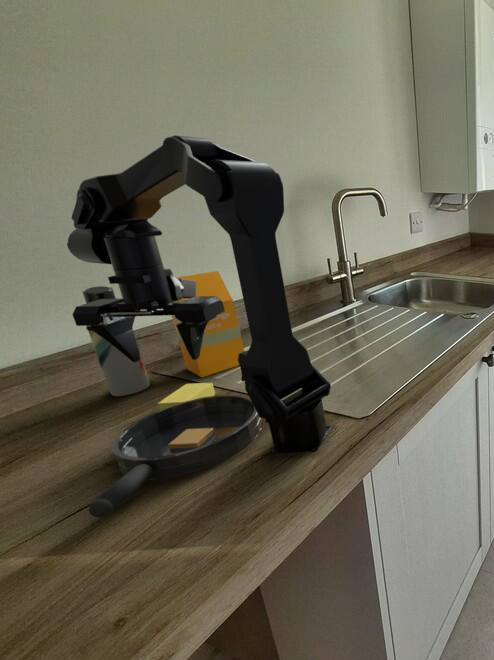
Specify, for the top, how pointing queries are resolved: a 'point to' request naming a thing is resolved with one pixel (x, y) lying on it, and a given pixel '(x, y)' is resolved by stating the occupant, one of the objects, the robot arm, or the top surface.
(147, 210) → the robot arm
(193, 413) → the pan
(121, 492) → the pan handle
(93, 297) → the lotion bottle
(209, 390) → the sponge
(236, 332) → the orange juice
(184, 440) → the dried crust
